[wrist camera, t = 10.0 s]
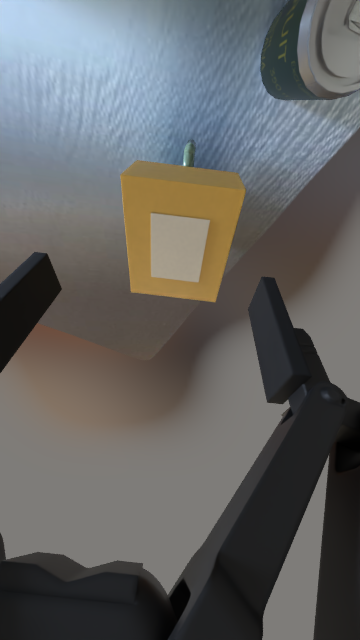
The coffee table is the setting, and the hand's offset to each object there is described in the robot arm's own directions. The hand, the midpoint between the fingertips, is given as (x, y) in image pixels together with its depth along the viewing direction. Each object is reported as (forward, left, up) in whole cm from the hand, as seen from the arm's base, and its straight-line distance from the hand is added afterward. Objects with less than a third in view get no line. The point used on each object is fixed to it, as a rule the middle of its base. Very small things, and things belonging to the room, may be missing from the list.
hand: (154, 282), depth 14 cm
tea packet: (0, +1, -10) cm, 10 cm away
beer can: (-14, +4, -18) cm, 23 cm away
